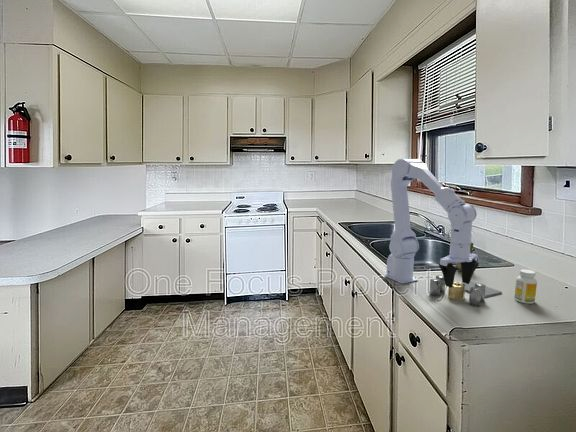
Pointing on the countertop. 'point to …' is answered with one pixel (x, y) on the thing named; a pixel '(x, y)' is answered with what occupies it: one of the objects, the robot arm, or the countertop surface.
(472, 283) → the mat
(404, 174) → the robot arm
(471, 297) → the cylinder
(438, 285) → the cylinder
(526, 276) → the supplement bottle
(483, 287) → the cylinder
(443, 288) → the cylinder
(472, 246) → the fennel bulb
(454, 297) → the nut
